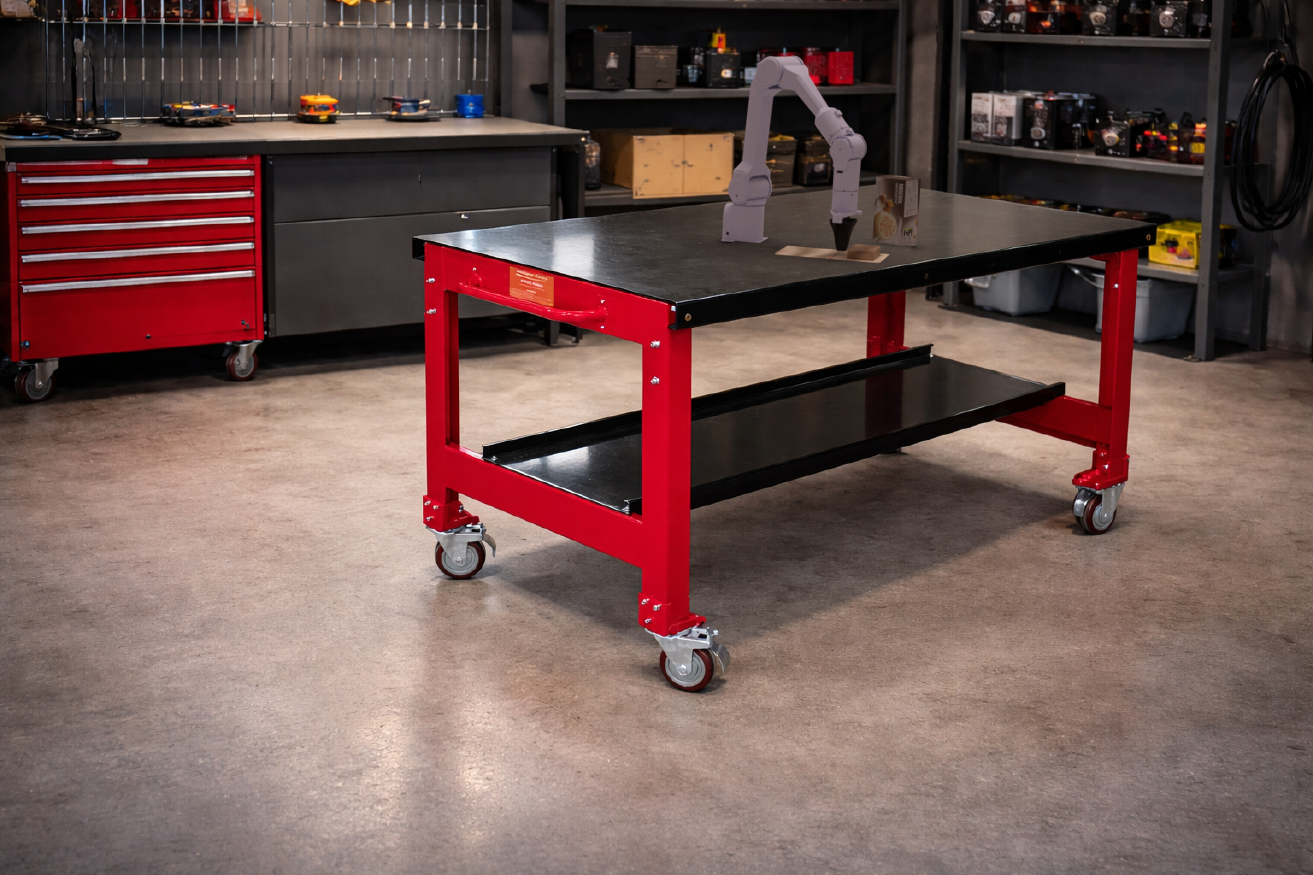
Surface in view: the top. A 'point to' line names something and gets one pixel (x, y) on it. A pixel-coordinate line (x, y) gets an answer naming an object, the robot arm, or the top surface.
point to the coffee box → (896, 210)
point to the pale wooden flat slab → (823, 253)
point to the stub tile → (863, 252)
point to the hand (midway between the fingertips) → (841, 250)
